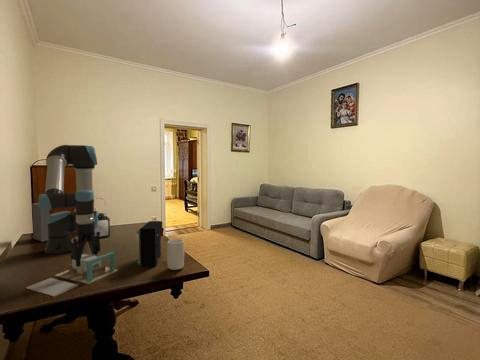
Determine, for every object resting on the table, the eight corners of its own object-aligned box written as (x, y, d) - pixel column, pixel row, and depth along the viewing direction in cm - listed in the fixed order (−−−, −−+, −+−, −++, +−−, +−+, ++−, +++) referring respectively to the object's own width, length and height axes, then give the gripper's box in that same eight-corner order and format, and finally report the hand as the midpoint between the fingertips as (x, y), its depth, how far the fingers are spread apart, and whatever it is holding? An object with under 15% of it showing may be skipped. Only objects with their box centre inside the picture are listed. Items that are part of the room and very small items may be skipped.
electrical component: (146, 255, 150) (145, 221, 148) (164, 254, 151) (163, 220, 149) (136, 267, 132) (135, 228, 131) (157, 266, 133) (156, 228, 132)
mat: (25, 289, 109) (25, 287, 109) (51, 279, 118) (50, 277, 118) (54, 297, 102) (53, 295, 102) (78, 286, 111) (78, 284, 111)
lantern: (110, 236, 189) (109, 198, 188) (92, 238, 183) (91, 199, 181) (107, 233, 198) (106, 196, 197) (90, 235, 191) (89, 197, 190)
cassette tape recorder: (52, 239, 180) (50, 204, 178) (41, 241, 175) (40, 205, 173) (43, 236, 187) (42, 202, 186) (33, 238, 182) (31, 203, 181)
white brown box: (72, 272, 124) (71, 258, 124) (83, 267, 130) (83, 253, 129) (91, 276, 119) (90, 261, 119) (102, 271, 125) (101, 257, 125)
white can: (175, 273, 125) (175, 244, 124) (163, 269, 129) (163, 241, 128) (187, 267, 132) (187, 240, 131) (176, 264, 136) (175, 237, 135)
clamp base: (54, 276, 121) (54, 267, 121) (86, 264, 136) (86, 256, 136) (87, 284, 113) (87, 275, 113) (117, 270, 128) (117, 262, 128)
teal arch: (87, 280, 115) (86, 261, 115) (111, 269, 127) (111, 251, 127) (90, 281, 114) (89, 261, 114) (114, 269, 127) (114, 252, 126)
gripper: (71, 227, 113) (73, 279, 114) (108, 219, 130) (109, 263, 132) (59, 226, 116) (61, 276, 117) (97, 217, 133) (98, 261, 135)
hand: (86, 269), depth 125 cm, fingers closed on white brown box, 6 cm apart
